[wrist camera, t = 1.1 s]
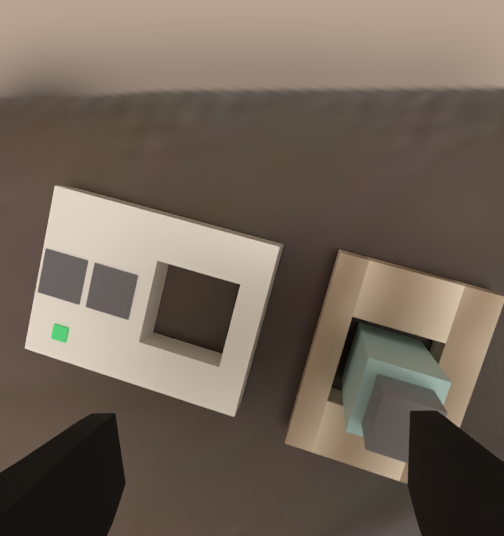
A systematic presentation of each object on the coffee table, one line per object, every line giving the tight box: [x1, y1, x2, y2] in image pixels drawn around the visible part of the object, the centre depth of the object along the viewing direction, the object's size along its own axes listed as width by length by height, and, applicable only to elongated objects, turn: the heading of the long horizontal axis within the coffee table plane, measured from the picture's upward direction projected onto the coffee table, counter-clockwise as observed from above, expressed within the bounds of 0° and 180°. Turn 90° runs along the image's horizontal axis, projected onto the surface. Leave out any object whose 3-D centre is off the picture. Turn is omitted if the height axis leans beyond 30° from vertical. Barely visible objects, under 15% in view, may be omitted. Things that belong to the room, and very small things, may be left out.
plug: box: [341, 322, 451, 463], centre depth 20 cm, size 3×3×8 cm
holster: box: [285, 249, 504, 484], centre depth 23 cm, size 8×10×2 cm
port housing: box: [25, 186, 284, 417], centre depth 24 cm, size 12×9×2 cm
